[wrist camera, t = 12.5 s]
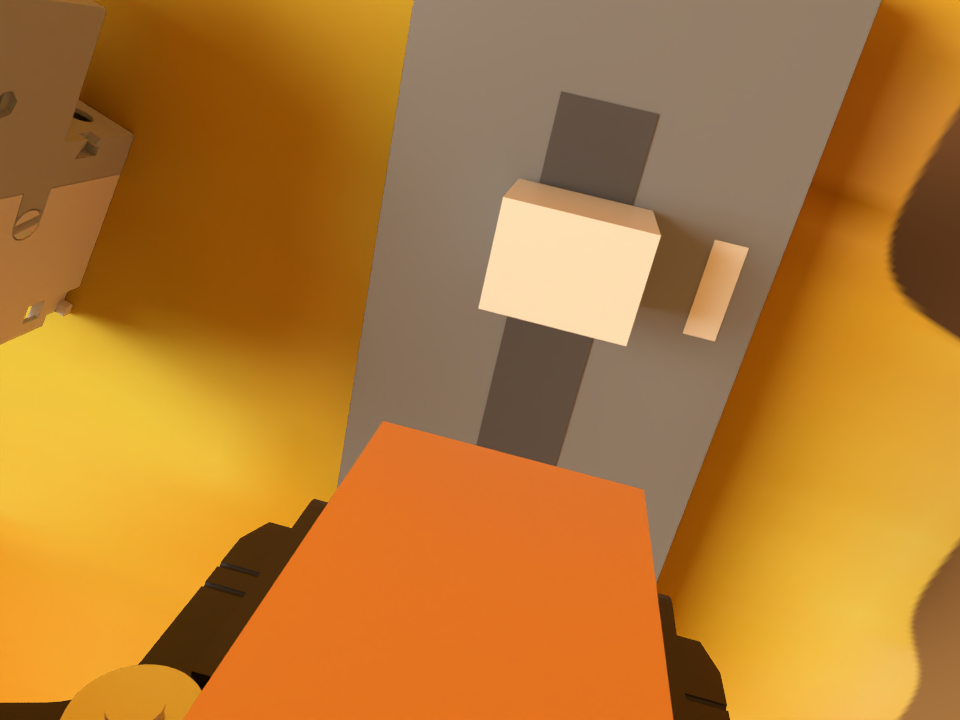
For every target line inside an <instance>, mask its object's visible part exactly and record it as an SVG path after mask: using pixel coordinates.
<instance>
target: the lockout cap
mask: <svg viewBox="0 0 960 720" xmlns="http://www.w3.org/2000/svg"><path fill="white" fill-rule="evenodd" d="M183 720H673V713H672V705H671V698H670V690H669V682H668V674H667V666H666V658H665V650H664V643H663V635H662V627H661V619H660V611H659V603H658V595H657V588H656V580H655V572H654V564H653V556H652V548H651V540H650V533H649V525H648V517H647V509H646V501H645V493H644V490H643V489H640V488H636V487H632V486H628V485H624V484H621V483H617V482H613V481H609V480H605V479H602V478H598V477H594V476H590V475H586V474H583V473H579V472H575V471H571V470H567V469H564V468H560V467H556V466H552V465H548V464H545V463H541V462H537V461H533V460H530V459H526V458H522V457H518V456H514V455H511V454H507V453H503V452H499V451H495V450H492V449H488V448H484V447H480V446H476V445H473V444H469V443H465V442H461V441H457V440H454V439H450V438H446V437H442V436H439V435H435V434H431V433H427V432H423V431H420V430H416V429H412V428H408V427H404V426H401V425H397V424H393V423H389V422H385V421H383V422H382V423H381V425H380V426H379V428H378V429H377V431H376V432H375V434H374V435H373V437H372V438H371V440H370V441H369V443H368V444H367V446H366V447H365V449H364V450H363V452H362V453H361V454H360V456H359V457H358V459H357V460H356V462H355V463H354V465H353V466H352V468H351V469H350V471H349V472H348V474H347V475H346V477H345V478H344V480H343V481H342V483H341V484H340V486H339V487H338V489H337V490H336V492H335V493H334V495H333V496H332V498H331V499H330V501H329V502H328V504H327V505H326V507H325V508H324V510H323V511H322V513H321V514H320V516H319V517H318V519H317V520H316V522H315V523H314V525H313V526H312V528H311V529H310V531H309V532H308V533H307V535H306V536H305V538H304V539H303V541H302V542H301V544H300V545H299V547H298V548H297V550H296V551H295V553H294V554H293V556H292V557H291V559H290V560H289V562H288V563H287V565H286V566H285V568H284V569H283V571H282V572H281V574H280V575H279V577H278V578H277V580H276V581H275V583H274V584H273V586H272V587H271V589H270V590H269V592H268V593H267V595H266V596H265V598H264V599H263V601H262V602H261V604H260V605H259V607H258V608H257V609H256V611H255V612H254V614H253V615H252V617H251V618H250V620H249V621H248V623H247V624H246V626H245V627H244V629H243V630H242V632H241V633H240V635H239V636H238V638H237V639H236V641H235V642H234V644H233V645H232V647H231V648H230V650H229V651H228V653H227V654H226V656H225V657H224V659H223V660H222V662H221V663H220V665H219V666H218V668H217V669H216V671H215V672H214V674H213V675H212V677H211V678H210V680H209V681H208V683H207V684H206V686H205V687H204V688H203V690H202V691H201V693H200V694H199V696H198V697H197V699H196V700H195V702H194V703H193V705H192V706H191V708H190V709H189V711H188V712H187V714H186V715H185V717H184V718H183Z"/></svg>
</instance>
